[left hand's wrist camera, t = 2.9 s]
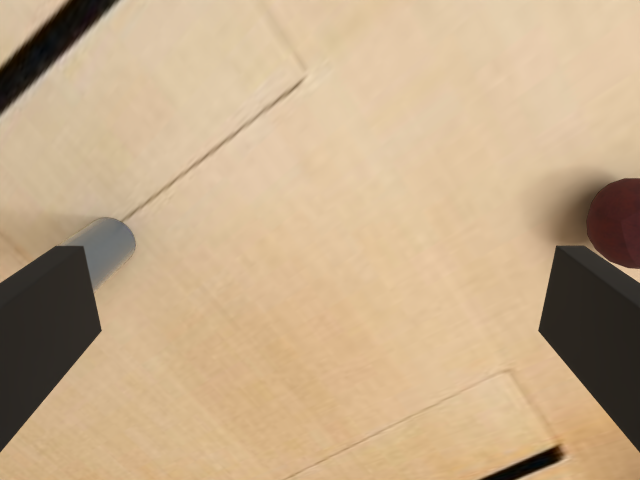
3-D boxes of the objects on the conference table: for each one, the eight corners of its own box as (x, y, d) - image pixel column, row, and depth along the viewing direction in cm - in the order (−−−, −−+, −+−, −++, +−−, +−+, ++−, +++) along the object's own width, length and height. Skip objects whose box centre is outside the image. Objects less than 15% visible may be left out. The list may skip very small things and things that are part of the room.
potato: (588, 261, 43) (636, 296, 36) (556, 197, 40) (602, 222, 34) (662, 221, 41) (728, 250, 35) (635, 152, 39) (699, 169, 32)
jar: (138, 224, 41) (38, 310, 27) (132, 268, 43) (35, 371, 28) (87, 211, 41) (-42, 291, 26) (83, 256, 43) (-41, 355, 28)
